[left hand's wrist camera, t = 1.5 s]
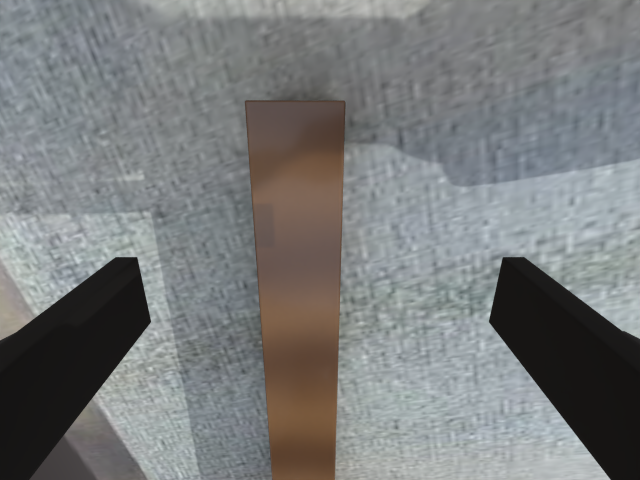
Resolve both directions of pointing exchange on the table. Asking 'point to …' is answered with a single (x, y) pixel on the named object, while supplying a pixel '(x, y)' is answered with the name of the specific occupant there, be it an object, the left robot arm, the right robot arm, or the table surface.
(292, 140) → the beam
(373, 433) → the table surface
